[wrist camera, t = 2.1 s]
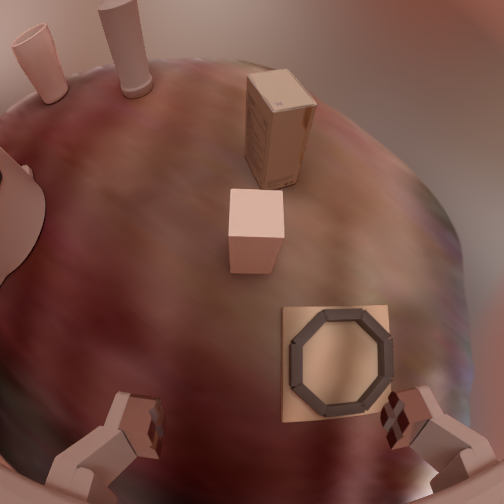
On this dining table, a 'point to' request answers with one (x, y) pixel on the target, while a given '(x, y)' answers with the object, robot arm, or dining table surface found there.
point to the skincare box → (276, 126)
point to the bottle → (126, 45)
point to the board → (335, 362)
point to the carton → (255, 230)
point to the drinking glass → (41, 62)
